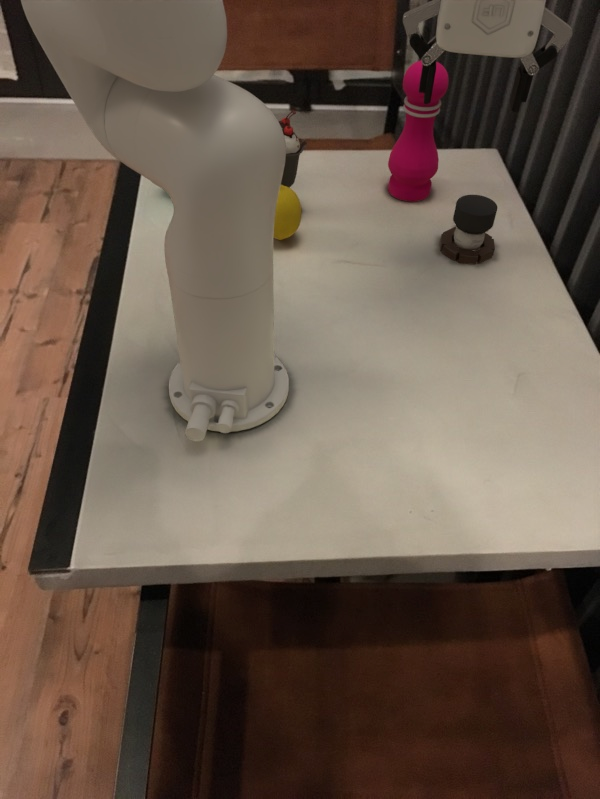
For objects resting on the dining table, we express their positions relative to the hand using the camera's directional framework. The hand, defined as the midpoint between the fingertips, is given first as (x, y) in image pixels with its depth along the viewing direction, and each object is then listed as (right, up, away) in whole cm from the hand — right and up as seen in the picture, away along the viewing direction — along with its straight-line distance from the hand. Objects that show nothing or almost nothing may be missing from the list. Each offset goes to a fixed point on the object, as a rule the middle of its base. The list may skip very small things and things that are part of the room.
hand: (470, 103), depth 76 cm
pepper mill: (-3, -2, +26) cm, 26 cm away
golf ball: (+3, -13, +16) cm, 21 cm away
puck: (+4, -10, +13) cm, 17 cm away
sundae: (-22, -6, +21) cm, 31 cm away
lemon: (-22, -12, +16) cm, 29 cm away
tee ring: (+3, -13, +16) cm, 21 cm away
